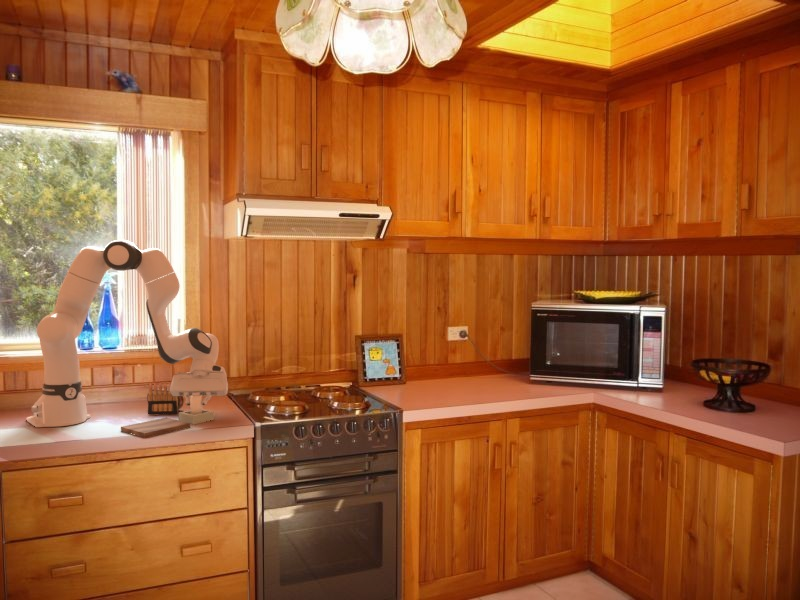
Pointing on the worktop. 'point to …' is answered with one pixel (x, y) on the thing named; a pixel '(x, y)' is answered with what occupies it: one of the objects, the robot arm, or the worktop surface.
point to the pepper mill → (195, 403)
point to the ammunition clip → (162, 400)
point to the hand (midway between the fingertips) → (195, 404)
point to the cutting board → (155, 427)
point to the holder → (196, 416)
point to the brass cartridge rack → (179, 398)
